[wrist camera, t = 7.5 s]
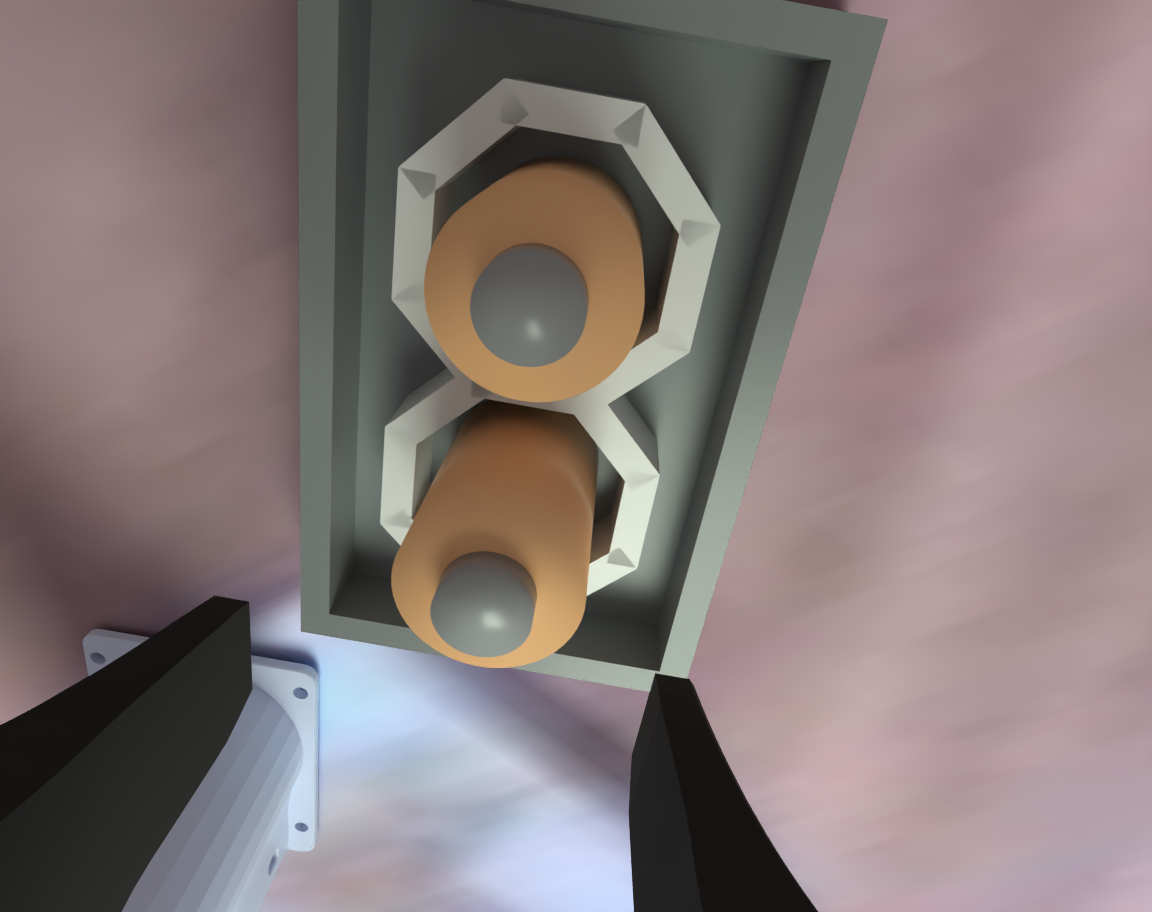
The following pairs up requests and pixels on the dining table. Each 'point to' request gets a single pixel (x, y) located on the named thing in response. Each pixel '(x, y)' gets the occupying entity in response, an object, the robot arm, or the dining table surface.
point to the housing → (557, 275)
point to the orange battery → (502, 539)
